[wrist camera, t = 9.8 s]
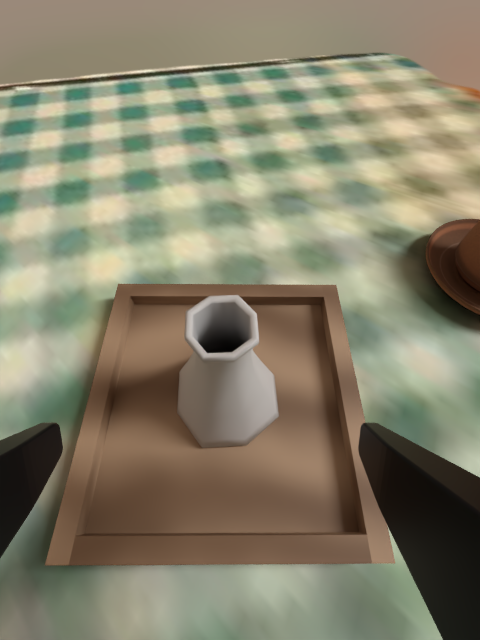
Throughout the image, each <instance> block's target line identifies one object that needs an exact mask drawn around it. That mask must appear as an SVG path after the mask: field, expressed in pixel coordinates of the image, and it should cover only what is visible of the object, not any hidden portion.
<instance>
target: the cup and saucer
mask: <svg viewBox="0 0 480 640" xmlns="http://www.w3.org/2000/svg"><path fill="white" fill-rule="evenodd" d="M426 261H427V265H428V267H429V270H430V272H431V274H432V275H433V277H434V279H435V280H436V282H437V283H438V284H439V286H440V287H441V288H442V289H443V290H444V291H445V292H446V293H447V294H448V295H449V296H450V297H451V298H452V299H454V300H455V301H456V302H458V303H459V304H460V305H462V306H464V307H465V308H467V309H469V310H471V311H472V312H474V313H477V314H479V315H480V220H479V219H462V220H456V221H451V222H448V223H446V224H444V225H442V226H440V227H439V228H437V229H436V230H435V231H434V232H433V234H432V235H431V236H430V238H429V240H428V243H427V246H426Z"/></svg>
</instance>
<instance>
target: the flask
mask: <svg viewBox="0 0 480 640" xmlns="http://www.w3.org/2000/svg"><path fill="white" fill-rule="evenodd" d="M184 338H185V341H186V342H187V343H188V345H189V346H190V347H191V348H192V349H193V351H194V352H193V354H192V355H191V357H190V359H189V360H188V362H187V363H186V364H185V365H184V367H183V368H182V369H181V370H180V372H179V387H178V404H177V413H178V415H179V416H180V417H181V419H182V420H183V422H184V423H185V425H186V426H187V427H188V429H189V430H190V432H191V433H192V434H193V436H194V437H195V439H196V440H197V442H198V443H199V444H200V446H201V447H202V448H208V447H227V446H247V445H248V444H249V443H250V442H251V441H252V440H253V439H254V438H255V437H257V436H258V435H259V434H260V433H261V432H262V431H263V430H264V429H265V428H267V427H268V426H269V425H270V424H271V423H272V422H273V421H274V420H275V419H277V418H278V417H279V412H278V404H277V395H276V386H275V377H274V375H273V373H272V372H271V371H270V370H269V369H268V368H267V367H266V366H265V365H264V364H263V363H262V361H261V360H260V359H259V358H258V357H257V355H256V354H255V353H254V351H253V348H254V347H255V346H257V345H258V344H259V332H258V321H257V313H256V312H255V311H254V310H253V309H252V308H251V307H250V306H249V305H248V304H247V303H246V302H245V301H244V300H243V299H242V298H241V297H240V296H239V295H221V296H209V297H207V298H205V299H204V300H202V301H201V302H199V303H198V304H196V305H195V306H193V307H191V308H190V309H188V310H187V311H186V315H185V334H184Z"/></svg>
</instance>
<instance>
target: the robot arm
mask: <svg viewBox="0 0 480 640" xmlns="http://www.w3.org/2000/svg"><path fill="white" fill-rule="evenodd" d="M62 450H63V445H62V439H61V433H60V427H59V425H58V424H57V423H40V424H38V425H36V426H33V427H31V428H29V429H26V430H24V431H22V432H19V433H17V434H14V435H12V436H10V437H7V438H5V439H3V440H0V558H1V556H2V555H3V553H4V552H5V550H6V549H7V547H8V546H9V544H10V542H11V541H12V539H13V538H14V536H15V535H16V533H17V532H18V530H19V529H20V527H21V526H22V524H23V523H24V521H25V520H26V518H27V516H28V515H29V513H30V512H31V510H32V508H33V507H34V505H35V503H36V501H37V500H38V498H39V496H40V494H41V492H42V490H43V489H44V487H45V485H46V483H47V481H48V479H49V477H50V475H51V474H52V472H53V470H54V468H55V466H56V464H57V462H58V460H59V459H60V457H61V454H62ZM358 451H359V456H360V458H361V461H362V464H363V467H364V469H365V472H366V475H367V477H368V480H369V483H370V486H371V488H372V491H373V494H374V496H375V499H376V501H377V504H378V506H379V509H380V511H381V513H382V515H383V517H384V519H385V521H386V523H387V525H388V527H389V530H390V532H391V534H392V536H393V538H394V540H395V542H396V544H397V546H398V548H399V550H400V552H401V554H402V556H403V558H404V560H405V562H406V564H407V567H408V569H409V571H410V573H411V575H412V577H413V579H414V581H415V583H416V585H417V587H418V589H419V591H420V593H421V595H422V597H423V599H424V601H425V603H426V606H427V608H428V610H429V612H430V614H431V616H432V618H433V620H434V622H435V624H436V626H437V628H438V630H439V632H440V634H441V636H442V638H443V640H480V478H479V477H478V476H476V475H474V474H472V473H470V472H468V471H466V470H464V469H462V468H461V467H459V466H457V465H455V464H453V463H451V462H449V461H447V460H445V459H444V458H442V457H440V456H438V455H436V454H434V453H432V452H430V451H428V450H427V449H425V448H423V447H421V446H419V445H417V444H415V443H413V442H412V441H410V440H408V439H406V438H404V437H402V436H400V435H398V434H396V433H395V432H393V431H391V430H389V429H387V428H385V427H383V426H381V425H380V424H378V423H363V424H362V425H361V428H360V436H359V445H358Z"/></svg>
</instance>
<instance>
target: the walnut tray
mask: <svg viewBox="0 0 480 640" xmlns="http://www.w3.org/2000/svg"><path fill="white" fill-rule="evenodd" d="M221 295H239V296H240V297H241V298H242V299H243V300H244V301H245V302H246V303H247V304H248V305H249V306H250V307H251V308H252V309H253V310H254V311H255V312H256V313H257V321H258V332H259V344H258V345H257V346H255V347H254V348H253V351H254V353H255V354H256V355H257V357H258V358H259V359H260V360H261V361H262V363H263V364H264V365H265V366H266V367H267V368H268V369H269V370H270V371H271V372H272V373H273V375H274V377H275V386H276V395H277V404H278V412H279V417H278V418H277V419H275V420H274V421H273V422H272V423H271V424H270V425H269V426H268V427H267V428H265V429H264V430H263V431H262V432H261V433H260V434H259V435H258V436H257V437H255V438H254V439H253V440H252V441H251V442H250V443H249V444H248V445H247V446H227V447H208V448H202V447H201V446H200V444H199V443H198V442H197V440H196V439H195V437H194V436H193V434H192V433H191V432H190V430H189V429H188V427H187V426H186V425H185V423H184V422H183V420H182V419H181V417H180V416H179V415H178V413H177V404H178V387H179V372H180V370H181V369H182V368H183V367H184V365H185V364H186V363H187V362H188V360H189V359H190V357H191V355H192V354H193V352H194V351H193V349H192V348H191V347H190V346H189V345H188V343H187V342H186V341H185V338H184V334H185V315H186V311H187V310H188V309H190V308H191V307H193V306H195V305H196V304H198V303H199V302H201V301H202V300H204V299H205V298H207V297H209V296H221ZM363 423H365V418H364V414H363V409H362V404H361V400H360V395H359V390H358V385H357V381H356V376H355V371H354V367H353V362H352V357H351V352H350V348H349V343H348V338H347V334H346V329H345V324H344V320H343V315H342V310H341V305H340V301H339V296H338V291H337V287H336V285H227V284H118V287H117V291H116V295H115V298H114V302H113V306H112V310H111V314H110V318H109V321H108V325H107V329H106V333H105V337H104V341H103V344H102V348H101V352H100V356H99V360H98V364H97V367H96V371H95V375H94V379H93V383H92V387H91V390H90V394H89V398H88V402H87V406H86V410H85V413H84V417H83V421H82V425H81V429H80V433H79V436H78V440H77V444H76V448H75V452H74V456H73V459H72V463H71V467H70V471H69V475H68V479H67V482H66V486H65V490H64V494H63V498H62V502H61V505H60V509H59V513H58V517H57V521H56V525H55V528H54V532H53V536H52V540H51V544H50V548H49V551H48V555H47V559H46V563H45V565H194V564H356V563H395V560H394V555H393V550H392V546H391V541H390V536H389V532H388V527H387V523H386V521H385V519H384V517H383V515H382V513H381V511H380V509H379V506H378V504H377V501H376V499H375V496H374V494H373V491H372V488H371V486H370V483H369V480H368V477H367V475H366V472H365V469H364V467H363V464H362V461H361V458H360V456H359V451H358V445H359V436H360V428H361V425H362V424H363Z"/></svg>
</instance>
